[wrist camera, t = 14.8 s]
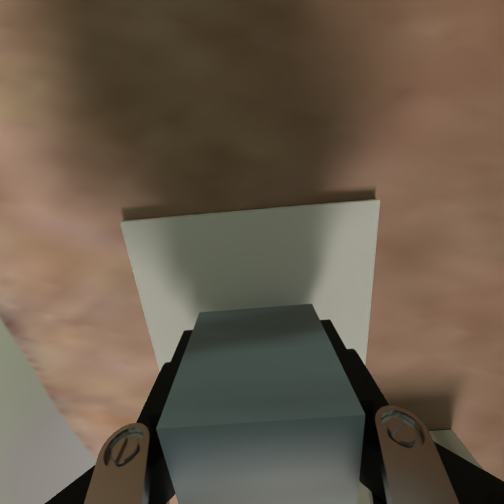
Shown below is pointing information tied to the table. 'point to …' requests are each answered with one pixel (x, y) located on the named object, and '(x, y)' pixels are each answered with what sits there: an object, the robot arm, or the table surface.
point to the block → (262, 412)
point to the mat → (256, 266)
